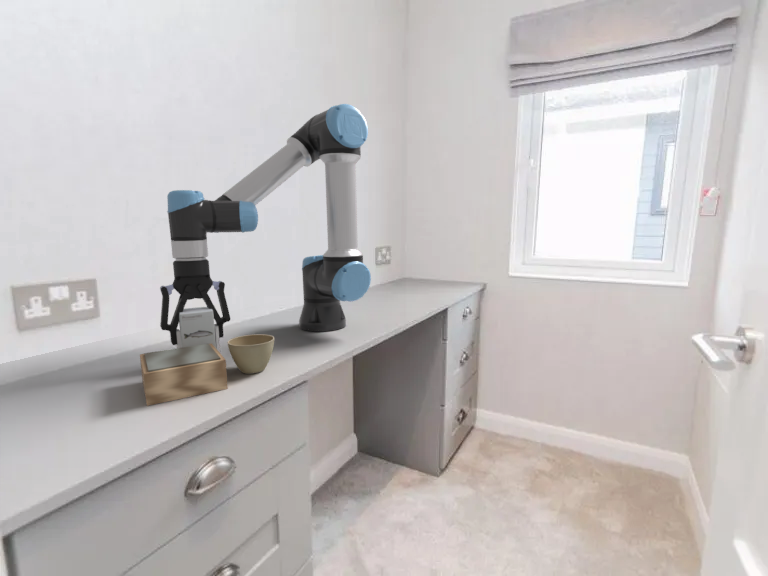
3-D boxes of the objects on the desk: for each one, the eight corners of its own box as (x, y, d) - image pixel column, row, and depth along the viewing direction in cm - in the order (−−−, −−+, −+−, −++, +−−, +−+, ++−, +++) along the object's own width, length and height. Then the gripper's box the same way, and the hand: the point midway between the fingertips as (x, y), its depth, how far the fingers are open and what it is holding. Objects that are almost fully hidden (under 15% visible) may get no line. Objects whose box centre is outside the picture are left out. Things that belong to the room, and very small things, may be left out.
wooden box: (213, 368, 92) (211, 342, 91) (227, 388, 81) (225, 358, 80) (142, 382, 84) (139, 353, 84) (146, 405, 73) (143, 372, 72)
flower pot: (284, 365, 94) (282, 335, 93) (258, 380, 85) (256, 347, 84) (248, 361, 97) (247, 332, 96) (219, 375, 88) (217, 343, 87)
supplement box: (183, 368, 92) (178, 314, 90) (182, 359, 98) (177, 308, 97) (218, 362, 95) (213, 310, 93) (215, 354, 102) (210, 305, 100)
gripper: (232, 255, 102) (239, 343, 105) (138, 260, 91) (149, 358, 94) (240, 257, 96) (247, 350, 99) (140, 262, 85) (151, 367, 88)
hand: (199, 353), depth 97 cm, fingers closed on supplement box, 8 cm apart
